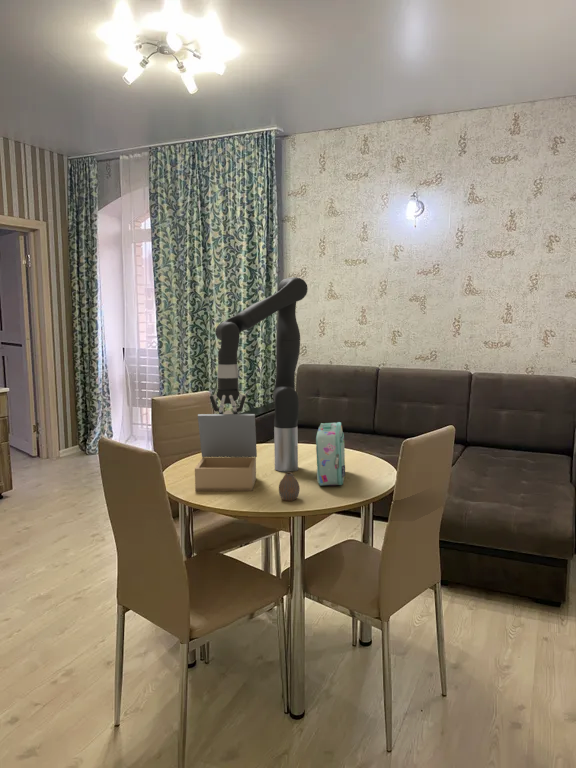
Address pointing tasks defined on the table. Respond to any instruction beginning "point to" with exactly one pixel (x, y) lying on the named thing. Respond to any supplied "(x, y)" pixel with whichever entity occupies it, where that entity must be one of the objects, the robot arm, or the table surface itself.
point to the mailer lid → (227, 435)
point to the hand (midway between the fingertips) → (228, 422)
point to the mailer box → (225, 474)
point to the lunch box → (330, 454)
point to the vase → (289, 487)
